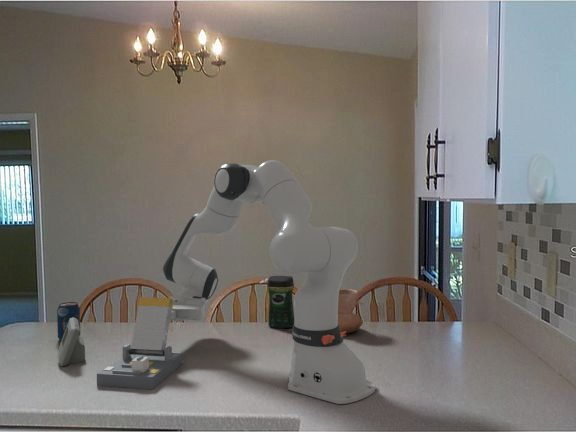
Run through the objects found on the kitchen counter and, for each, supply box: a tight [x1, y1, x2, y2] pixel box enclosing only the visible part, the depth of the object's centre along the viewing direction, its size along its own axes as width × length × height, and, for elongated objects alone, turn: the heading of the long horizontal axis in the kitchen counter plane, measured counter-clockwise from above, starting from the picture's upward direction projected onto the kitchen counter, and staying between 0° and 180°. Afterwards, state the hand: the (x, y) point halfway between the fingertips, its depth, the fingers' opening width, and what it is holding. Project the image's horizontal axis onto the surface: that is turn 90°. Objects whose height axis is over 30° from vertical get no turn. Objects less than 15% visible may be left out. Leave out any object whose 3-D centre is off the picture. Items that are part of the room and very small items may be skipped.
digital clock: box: [57, 317, 86, 367], centre depth 138 cm, size 16×9×11 cm, turn 15°
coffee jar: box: [266, 275, 295, 329], centre depth 170 cm, size 10×8×19 cm
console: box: [96, 343, 183, 390], centre depth 124 cm, size 18×15×6 cm
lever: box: [129, 296, 174, 356], centre depth 130 cm, size 3×10×16 cm, turn 79°
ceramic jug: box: [338, 288, 365, 335], centre depth 163 cm, size 18×14×14 cm
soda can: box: [56, 301, 81, 342], centre depth 157 cm, size 7×7×12 cm
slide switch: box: [132, 355, 149, 373], centre depth 118 cm, size 3×3×4 cm
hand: (161, 317), depth 135 cm, fingers closed
